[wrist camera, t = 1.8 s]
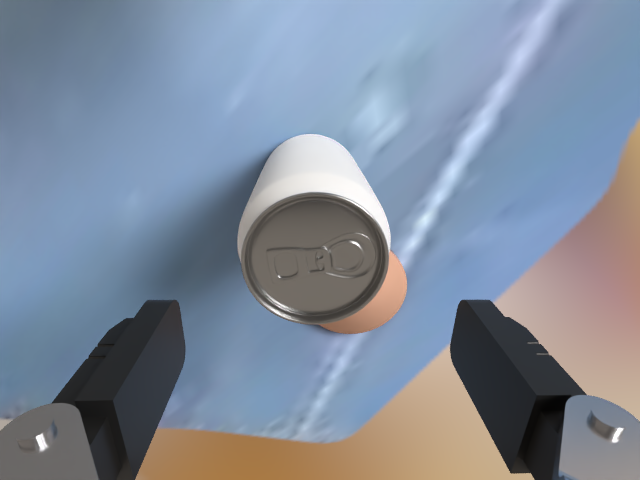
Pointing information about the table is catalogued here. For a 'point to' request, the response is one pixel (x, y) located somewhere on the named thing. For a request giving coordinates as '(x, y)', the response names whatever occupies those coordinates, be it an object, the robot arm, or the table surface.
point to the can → (313, 234)
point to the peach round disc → (377, 303)
